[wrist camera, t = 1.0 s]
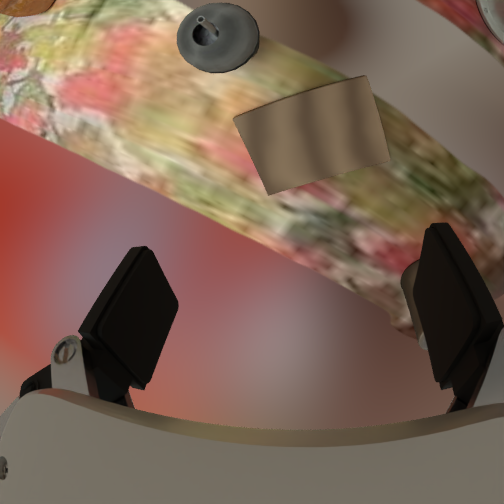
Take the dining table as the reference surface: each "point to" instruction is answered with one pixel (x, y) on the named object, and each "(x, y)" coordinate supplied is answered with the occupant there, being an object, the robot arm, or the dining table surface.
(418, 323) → the pillar candle
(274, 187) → the walnut board
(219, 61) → the beverage cup
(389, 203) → the dining table surface
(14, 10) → the bread
